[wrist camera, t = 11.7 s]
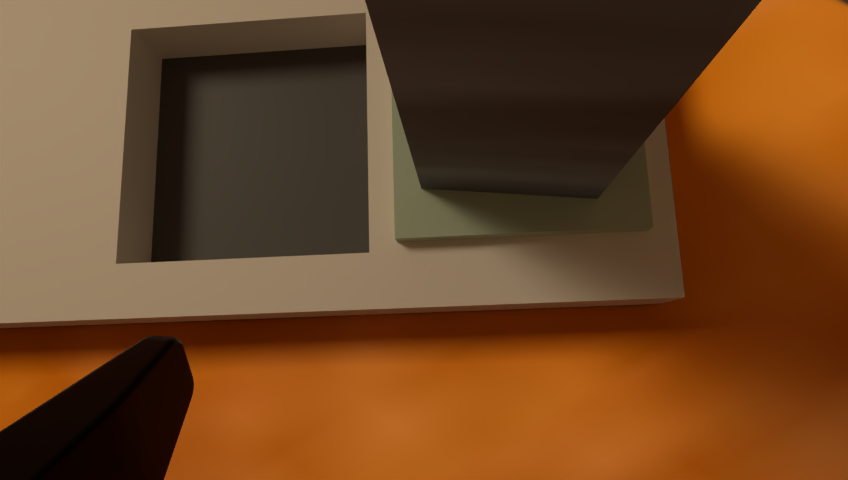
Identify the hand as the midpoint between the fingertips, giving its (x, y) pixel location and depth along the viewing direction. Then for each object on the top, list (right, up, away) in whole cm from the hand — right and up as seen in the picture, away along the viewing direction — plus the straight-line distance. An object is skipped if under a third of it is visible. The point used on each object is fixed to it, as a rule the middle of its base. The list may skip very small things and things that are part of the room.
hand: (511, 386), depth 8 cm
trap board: (-10, +4, +11) cm, 16 cm away
